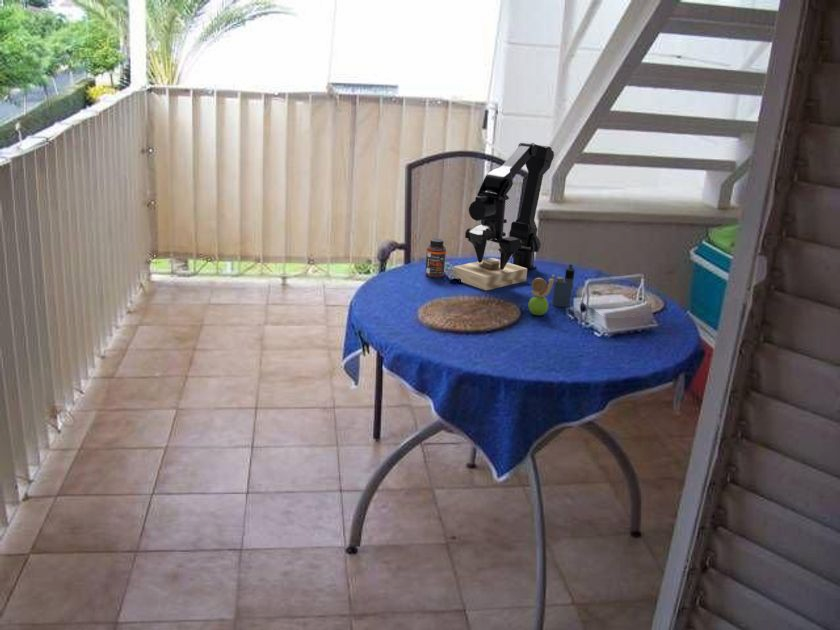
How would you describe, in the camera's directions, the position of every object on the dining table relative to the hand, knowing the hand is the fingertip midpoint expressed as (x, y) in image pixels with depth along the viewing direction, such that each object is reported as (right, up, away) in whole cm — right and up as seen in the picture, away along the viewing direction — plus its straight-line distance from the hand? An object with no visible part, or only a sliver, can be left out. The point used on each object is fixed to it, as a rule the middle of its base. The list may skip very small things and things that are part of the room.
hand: (490, 265), depth 253 cm
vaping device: (+18, -13, -19) cm, 29 cm away
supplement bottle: (-17, -3, +3) cm, 18 cm away
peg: (0, -4, +1) cm, 4 cm away
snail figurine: (+11, -15, -28) cm, 34 cm away
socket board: (0, -4, +1) cm, 4 cm away
